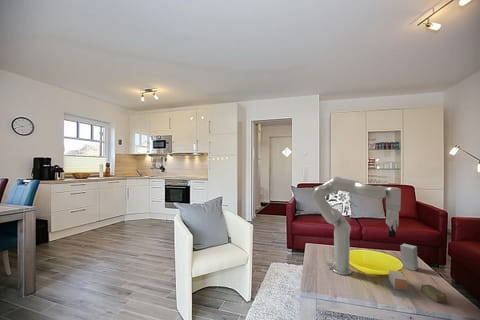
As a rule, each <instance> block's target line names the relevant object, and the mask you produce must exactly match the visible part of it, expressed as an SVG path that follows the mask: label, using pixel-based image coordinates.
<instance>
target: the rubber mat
mask: <svg viewBox="0 0 480 320" xmlns="http://www.w3.org/2000/svg"><path fill="white" fill-rule="evenodd" d="M382 279H383V280H384V282H385V284H386V286H387V287H388V289H389V290H390V292H391V294H392V295H393V296H396V297H401V298H408V299H413V300H419V297H418V296H417V295H416V293H415V292H414V291H413V290H412V288H411V286H410V285H409V284H408V283H407V291H405V290H399V289H395V288H394V287H393V285H392V284H391V282H390V281H389V278H382Z"/></svg>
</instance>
